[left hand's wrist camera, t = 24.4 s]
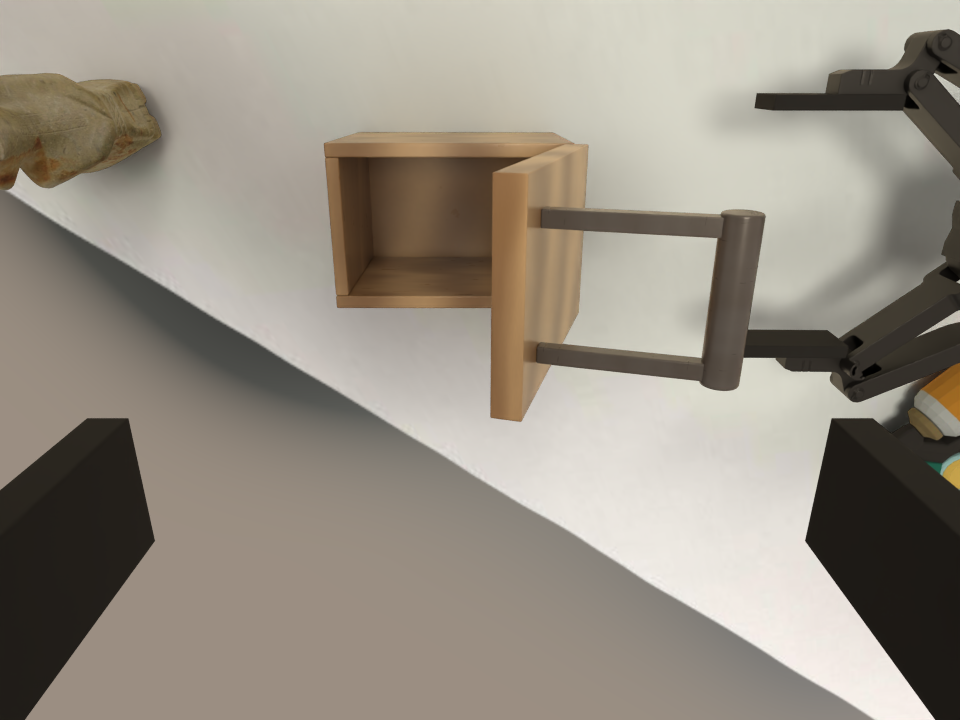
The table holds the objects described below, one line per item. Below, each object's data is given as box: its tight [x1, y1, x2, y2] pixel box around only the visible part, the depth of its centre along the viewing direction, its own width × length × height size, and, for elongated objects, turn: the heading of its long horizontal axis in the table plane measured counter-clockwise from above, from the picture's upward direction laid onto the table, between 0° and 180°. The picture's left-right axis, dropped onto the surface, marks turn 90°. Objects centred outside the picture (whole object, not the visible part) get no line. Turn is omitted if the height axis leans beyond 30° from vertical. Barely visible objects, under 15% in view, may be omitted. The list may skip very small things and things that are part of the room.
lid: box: [491, 144, 766, 422], centre depth 29 cm, size 14×9×9 cm
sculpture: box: [0, 73, 161, 190], centre depth 37 cm, size 6×7×15 cm
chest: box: [324, 132, 574, 308], centre depth 41 cm, size 13×9×10 cm
